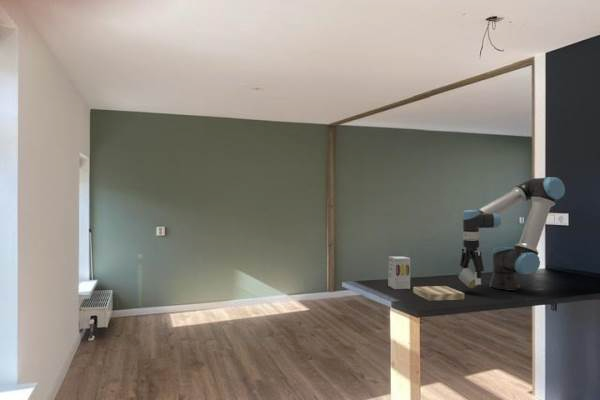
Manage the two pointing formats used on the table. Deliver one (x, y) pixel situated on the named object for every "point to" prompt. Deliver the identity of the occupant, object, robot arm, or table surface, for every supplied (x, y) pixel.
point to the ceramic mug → (468, 277)
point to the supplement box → (399, 272)
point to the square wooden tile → (438, 293)
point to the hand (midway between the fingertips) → (471, 282)
